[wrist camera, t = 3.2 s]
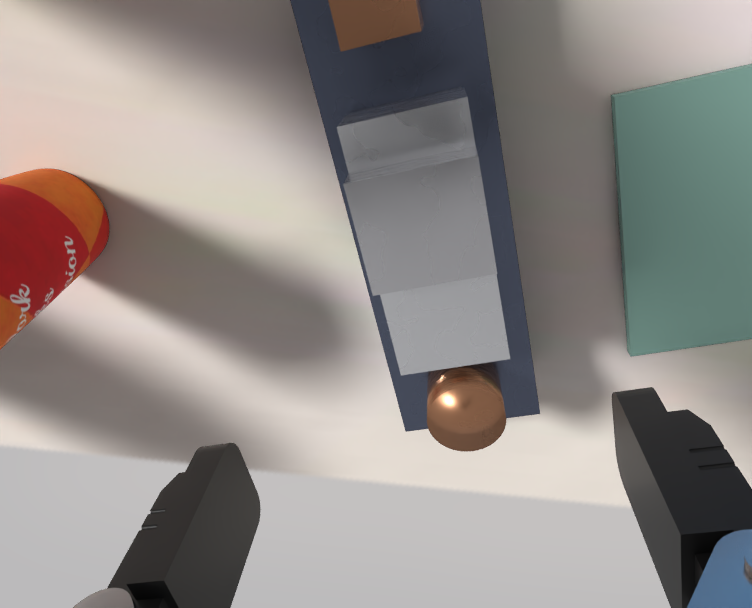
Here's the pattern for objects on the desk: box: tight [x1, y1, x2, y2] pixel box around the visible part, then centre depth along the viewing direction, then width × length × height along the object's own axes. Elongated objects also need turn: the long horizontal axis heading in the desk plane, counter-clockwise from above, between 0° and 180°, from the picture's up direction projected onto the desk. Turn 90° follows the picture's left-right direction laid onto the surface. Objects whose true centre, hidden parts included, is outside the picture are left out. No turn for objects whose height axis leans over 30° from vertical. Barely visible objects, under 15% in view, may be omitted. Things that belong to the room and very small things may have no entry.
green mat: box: [611, 64, 752, 356], centre depth 29 cm, size 14×10×1 cm
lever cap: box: [337, 88, 510, 375], centre depth 24 cm, size 11×5×4 cm, turn 14°
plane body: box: [290, 0, 540, 451], centre depth 26 cm, size 22×7×10 cm, turn 14°
